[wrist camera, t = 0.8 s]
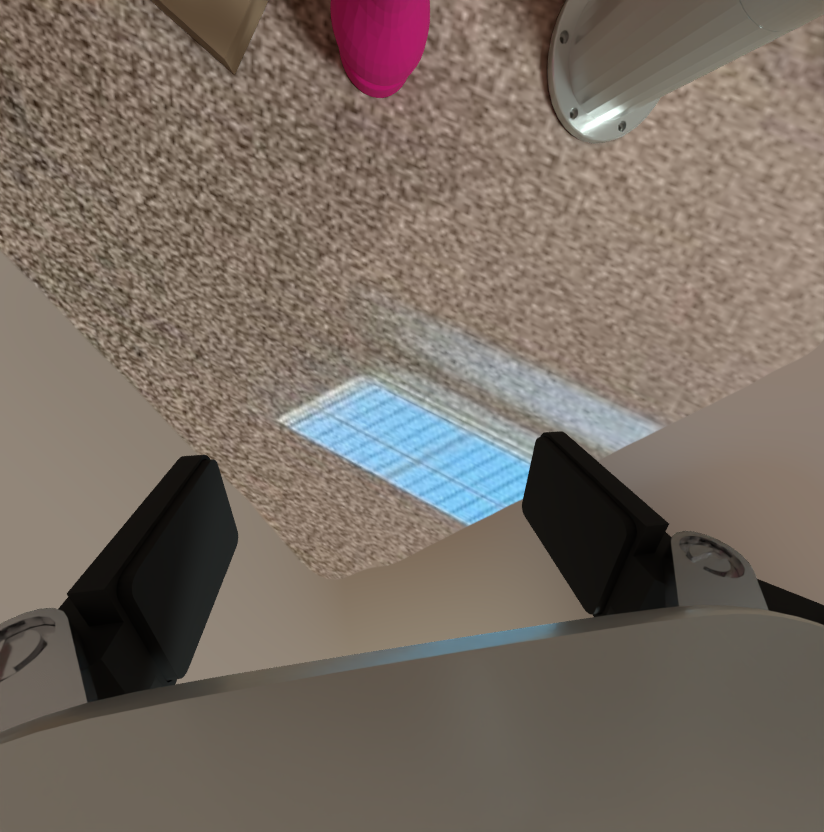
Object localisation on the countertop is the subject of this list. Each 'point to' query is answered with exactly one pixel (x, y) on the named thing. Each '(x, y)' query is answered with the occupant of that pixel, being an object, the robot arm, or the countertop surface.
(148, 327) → the countertop surface
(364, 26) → the pepper mill
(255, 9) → the walnut stand
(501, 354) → the countertop surface
